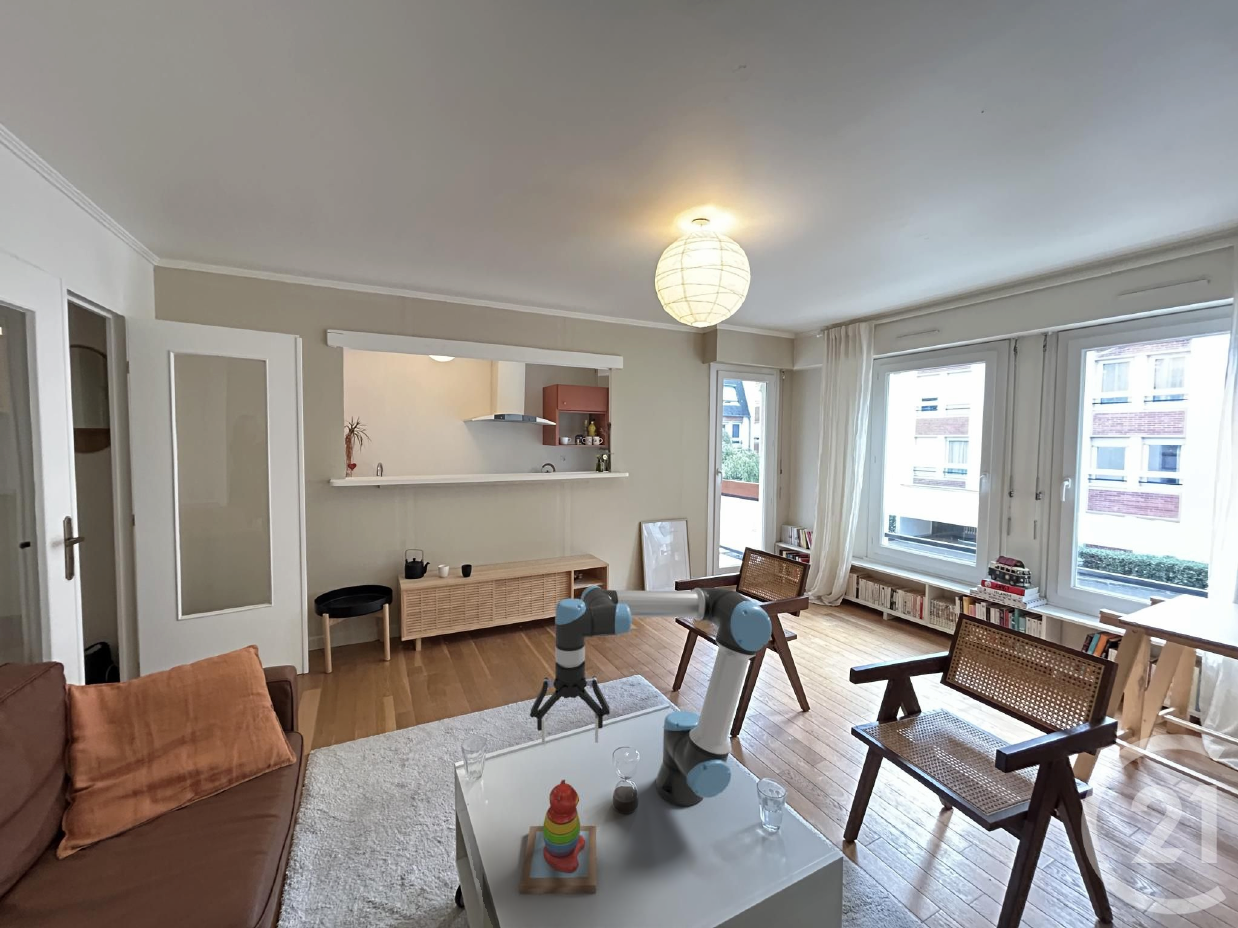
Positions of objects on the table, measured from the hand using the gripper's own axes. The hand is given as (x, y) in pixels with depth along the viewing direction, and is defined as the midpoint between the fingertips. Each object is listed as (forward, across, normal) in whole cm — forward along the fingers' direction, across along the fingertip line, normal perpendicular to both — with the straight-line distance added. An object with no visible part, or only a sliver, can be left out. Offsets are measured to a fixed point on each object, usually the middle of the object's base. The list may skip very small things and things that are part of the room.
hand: (570, 740), depth 131 cm
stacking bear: (+28, +2, +4) cm, 28 cm away
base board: (+30, +2, +4) cm, 30 cm away
